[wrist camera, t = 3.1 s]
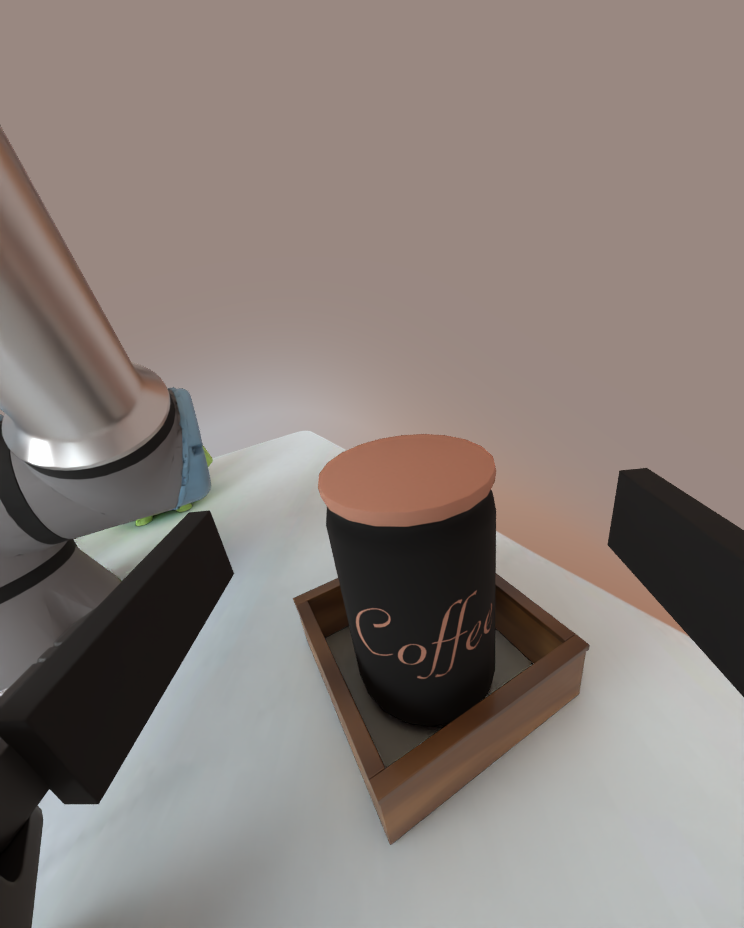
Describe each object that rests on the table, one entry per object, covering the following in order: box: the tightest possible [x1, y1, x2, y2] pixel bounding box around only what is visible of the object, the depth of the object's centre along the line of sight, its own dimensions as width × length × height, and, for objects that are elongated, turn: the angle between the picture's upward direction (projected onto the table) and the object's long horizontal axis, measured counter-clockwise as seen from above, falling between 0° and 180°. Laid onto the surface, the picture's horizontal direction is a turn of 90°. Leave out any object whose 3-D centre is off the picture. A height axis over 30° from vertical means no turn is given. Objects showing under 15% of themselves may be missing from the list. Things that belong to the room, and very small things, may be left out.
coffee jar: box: [318, 434, 496, 726], centre depth 25 cm, size 11×11×18 cm
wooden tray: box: [293, 574, 589, 845], centre depth 28 cm, size 16×16×5 cm
